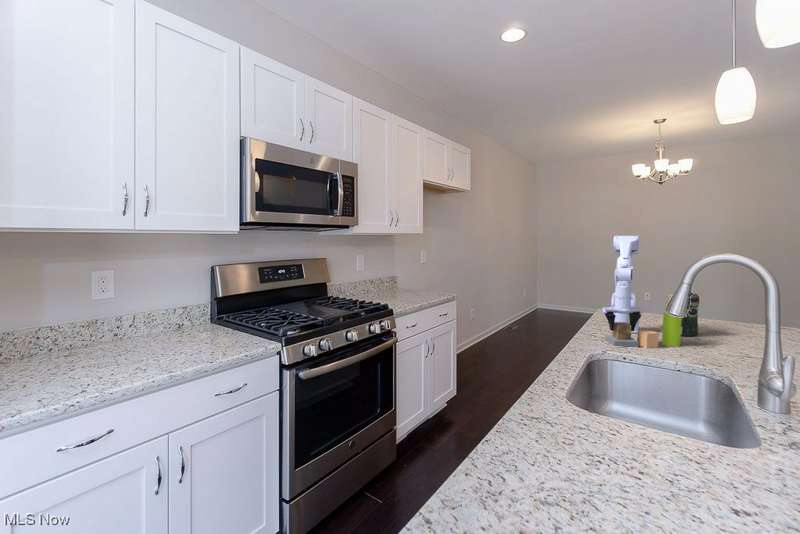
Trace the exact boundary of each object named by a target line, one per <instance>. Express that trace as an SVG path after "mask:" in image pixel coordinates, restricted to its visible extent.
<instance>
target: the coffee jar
mask: <svg viewBox="0 0 800 534" xmlns="http://www.w3.org/2000/svg"><path fill="white" fill-rule="evenodd" d="M699 305H700V296H699V295H698V294H697V293H692V297H691V305H690V309H689V311H688V313H687V317H684V318H681V332H680V337H681V336H683V337H695V336H698V335H699V323H698V322H699V320H698V319H699V318H698V317H699V316H698V312H699V311H698V310H699Z"/></svg>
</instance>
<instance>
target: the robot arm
mask: <svg viewBox="0 0 800 534" xmlns="http://www.w3.org/2000/svg"><path fill="white" fill-rule="evenodd" d="M612 245H613V247H612V248H613V252H614V254H615V255H618V257H617V260H616V268H615V269H614V286H615V292H613V293H612V295H611V303H610V304H611V305H610V306H608V307H607V306H605V307H602V312H603V313H604V316H605V317H606V319H607V322H608V326H609V330H610V331H611V332H612V331H614V322H626V323H628V324H630V325H631V334H638V330H640V329H639V328H640V327H639V325H640V323H639V322H640V318H641V317H642V314H644V313H643V311H644V308H642V307H637V296H636V294H635V293H633V292H632V290H633V288H632V287H633V282H634V276H635V275H634V273H635V271H634V266H633V265H634V264H633V263H634V259H633V256H634V255H637V254H638V252H639V249H640V248H639V247H640V236H639V235H614V237H613V244H612Z"/></svg>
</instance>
